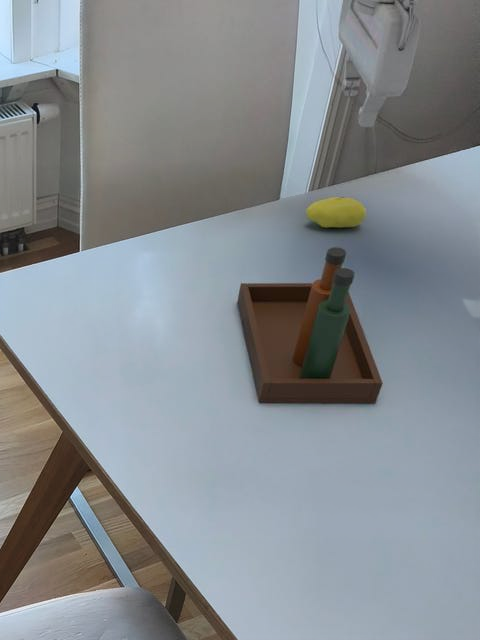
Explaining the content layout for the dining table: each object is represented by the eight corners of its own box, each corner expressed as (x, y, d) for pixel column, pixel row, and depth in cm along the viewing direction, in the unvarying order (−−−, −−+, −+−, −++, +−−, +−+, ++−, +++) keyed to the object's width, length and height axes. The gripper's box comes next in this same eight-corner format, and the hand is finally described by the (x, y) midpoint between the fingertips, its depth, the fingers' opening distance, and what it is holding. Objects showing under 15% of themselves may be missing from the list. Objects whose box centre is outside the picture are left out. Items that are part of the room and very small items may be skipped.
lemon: (363, 235, 119) (372, 206, 116) (303, 231, 121) (310, 202, 118) (361, 220, 122) (369, 191, 119) (302, 217, 123) (308, 188, 120)
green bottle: (325, 373, 99) (357, 264, 89) (330, 390, 97) (364, 280, 87) (296, 373, 99) (325, 264, 89) (301, 390, 97) (331, 280, 87)
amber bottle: (319, 352, 102) (349, 243, 92) (323, 368, 100) (356, 259, 90) (290, 352, 102) (318, 243, 92) (295, 368, 100) (324, 259, 90)
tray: (339, 302, 109) (345, 282, 107) (375, 403, 96) (382, 383, 94) (237, 302, 110) (240, 283, 108) (258, 402, 97) (263, 382, 95)
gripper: (447, 2, 91) (403, 144, 102) (399, -54, 104) (364, 77, 115) (385, 3, 91) (347, 145, 102) (345, -53, 104) (315, 78, 115)
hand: (356, 109), depth 109 cm, fingers open, 8 cm apart
